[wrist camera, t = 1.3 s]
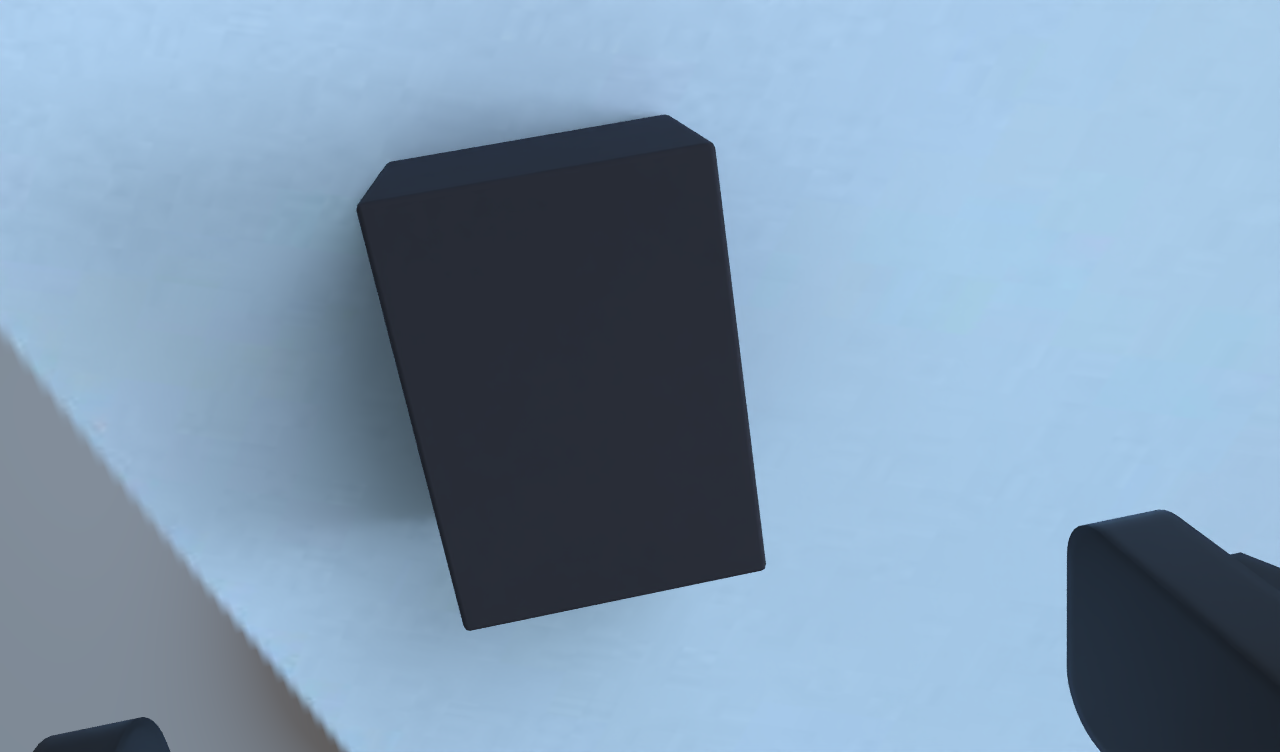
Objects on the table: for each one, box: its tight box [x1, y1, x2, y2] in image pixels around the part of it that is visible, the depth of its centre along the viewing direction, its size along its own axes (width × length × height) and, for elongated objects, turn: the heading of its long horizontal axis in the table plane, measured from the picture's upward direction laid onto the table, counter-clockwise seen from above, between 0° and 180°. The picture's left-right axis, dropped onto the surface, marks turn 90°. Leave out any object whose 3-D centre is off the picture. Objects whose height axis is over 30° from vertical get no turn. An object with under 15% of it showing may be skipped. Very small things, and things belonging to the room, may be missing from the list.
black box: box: [356, 115, 766, 631], centre depth 17 cm, size 7×5×4 cm
